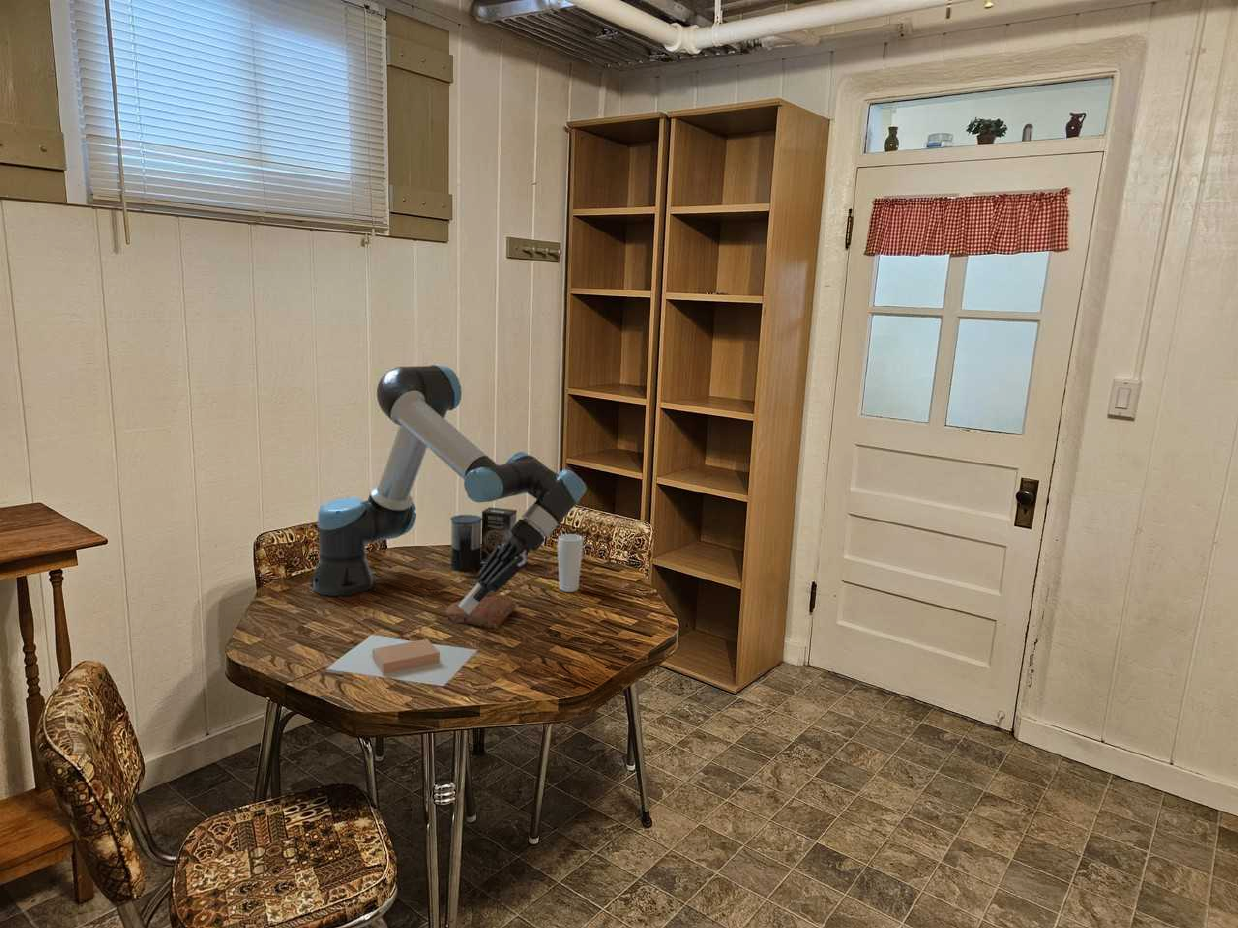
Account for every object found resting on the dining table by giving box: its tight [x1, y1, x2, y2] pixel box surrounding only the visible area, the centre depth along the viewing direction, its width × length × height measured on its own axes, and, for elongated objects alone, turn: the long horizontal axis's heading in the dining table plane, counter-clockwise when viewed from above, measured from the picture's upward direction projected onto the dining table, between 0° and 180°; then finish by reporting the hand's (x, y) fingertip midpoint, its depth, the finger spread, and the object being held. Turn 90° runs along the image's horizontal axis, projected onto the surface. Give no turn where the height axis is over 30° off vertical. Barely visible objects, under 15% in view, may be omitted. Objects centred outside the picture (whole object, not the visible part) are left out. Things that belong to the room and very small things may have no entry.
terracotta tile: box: [372, 638, 440, 675], centre depth 167 cm, size 2×8×12 cm
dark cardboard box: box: [481, 507, 517, 562], centre depth 236 cm, size 9×6×16 cm
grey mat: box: [325, 634, 478, 687], centre depth 168 cm, size 26×18×1 cm
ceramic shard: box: [445, 596, 516, 629], centre depth 194 cm, size 15×6×15 cm
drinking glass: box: [557, 533, 584, 593], centre depth 216 cm, size 7×7×15 cm
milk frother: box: [449, 514, 484, 572], centre depth 230 cm, size 14×16×15 cm
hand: (463, 609), depth 172 cm, fingers closed
